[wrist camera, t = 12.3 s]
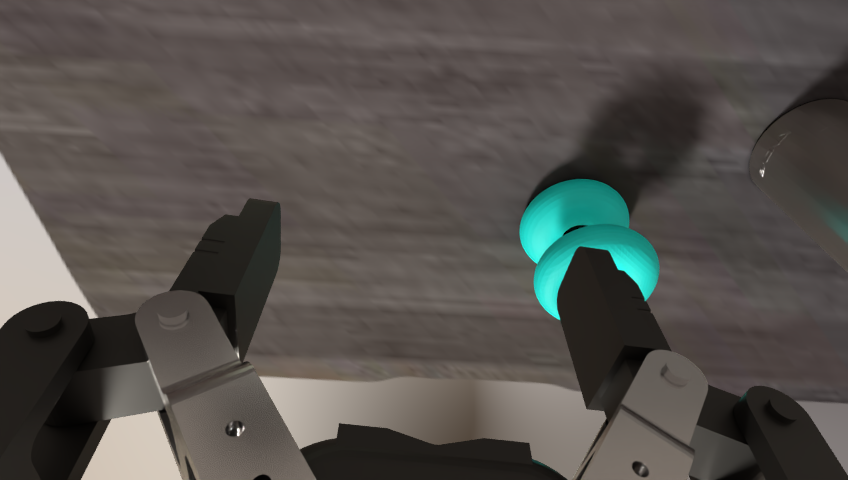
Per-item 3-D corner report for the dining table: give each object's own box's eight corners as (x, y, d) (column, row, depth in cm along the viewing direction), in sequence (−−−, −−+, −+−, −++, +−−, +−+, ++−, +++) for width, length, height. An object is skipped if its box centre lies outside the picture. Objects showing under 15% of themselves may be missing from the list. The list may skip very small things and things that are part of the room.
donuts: (587, 348, 44) (512, 294, 40) (561, 274, 52) (495, 222, 48) (689, 285, 40) (616, 216, 36) (643, 214, 48) (579, 152, 44)
